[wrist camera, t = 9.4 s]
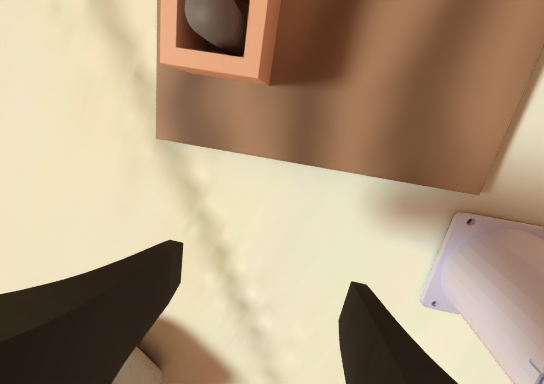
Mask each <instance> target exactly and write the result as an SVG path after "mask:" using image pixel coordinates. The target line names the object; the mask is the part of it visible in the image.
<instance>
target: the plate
mask: <svg viewBox="0 0 544 384" xmlns="http://www.w3.org/2000/svg"><path fill="white" fill-rule="evenodd" d="M249 5H250V4H243V3H236V2H234V0H185V15H186V18H187V21H188V23H189V25H190V26H191V28H192V29H193V30H194V31H195V32H196V33H198V34H199V35H200V36H202V37H203V38H205V39H206V40H207V52H210V53H217V54H223V55H230V56H236V57H243V58H244V51H245V42H246V32H247V23H248V14H249ZM160 15H161V0H157V90H156V139H162V140H167V141H173V142H179V143H184V144H190V145H196V146H201V147H207V148H213V149H218V150H224V151H230V152H235V153H241V154H247V155H253V156H258V157H264V158H270V159H275V160H281V161H287V162H292V163H298V164H304V165H309V166H315V167H321V168H327V169H332V170H338V171H344V172H349V173H355V174H361V175H366V176H372V177H378V178H383V179H389V180H395V181H401V182H406V183H412V184H418V185H423V186H429V187H435V188H440V189H446V190H452V191H457V192H463V193H469V194H475V195H479V194H480V192H481V189H482V187H483V185H484V183H485V180H486V178H487V176H488V173H489V171H490V169H491V166H492V164H493V162H494V159H495V157H496V155H497V153H498V150H499V148H500V146H501V143H502V141H503V139H504V136H505V134H506V132H507V129H508V127H509V125H510V122H511V120H512V118H513V116H514V113H515V111H516V109H517V106H518V104H519V102H520V99H521V97H522V95H523V92H524V90H525V88H526V86H527V83H528V81H529V79H530V76H531V74H532V72H533V69H534V67H535V65H536V62H537V60H538V58H539V55H540V53H541V51H542V49H543V46H544V0H281V5H280V12H279V19H278V26H277V33H276V40H275V47H274V54H273V62H272V69H271V76H270V83H269V86H267V85H261V84H254V83H248V82H242V81H235V80H229V79H223V78H216V77H210V76H204V75H198V74H192V73H189V72H186V71H183V70H180V69H177V68H174V67H171V66H168V65H165V64H162V63H160Z"/></svg>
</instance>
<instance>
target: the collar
mask: <svg viewBox="0 0 544 384" xmlns="http://www.w3.org/2000/svg"><path fill="white" fill-rule="evenodd" d="M234 2H236V3H243V4H250V5H249V14H248V23H247V32H246V42H245V51H244V58H243V57H236V56H230V55H223V54H217V53H210V52H207V40H206V39H205V38H203V37H202V36H200V35H199V34H198V33H196V32H195V31H194V30H193V29H192V28H191V26H190V25H189V23H188V21H187V18H186V15H185V0H161V15H160V63H162V64H165V65H168V66H171V67H174V68H177V69H180V70H183V71H186V72H189V73H192V74H198V75H204V76H210V77H216V78H223V79H229V80H235V81H242V82H248V83H254V84H261V85H267V86H269V83H270V76H271V69H272V62H273V54H274V47H275V40H276V33H277V26H278V19H279V12H280V5H281V0H234Z"/></svg>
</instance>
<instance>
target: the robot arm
mask: <svg viewBox="0 0 544 384" xmlns="http://www.w3.org/2000/svg"><path fill="white" fill-rule="evenodd" d="M469 219H472V221H471V222H470V223H467V221H468V220H469ZM182 255H183V243H182V242H177V241H173V240H168V241H165V242H163V243H160V244H158V245H155V246H153V247H151V248H148V249H146V250H144V251H141V252H139V253H136V254H134V255H132V256H129V257H127V258H125V259H122V260H119V261H117V262H114V263H111V264H109V265H106V266H103V267H101V268H98V269H95V270H92V271H90V272H86V273H83V274H80V275H77V276H74V277H70V278H67V279H64V280H60V281H56V282H52V283H48V284H44V285H40V286H36V287H32V288H28V289H24V290H19V291H14V292H9V293H4V294H0V384H112V382H113V381H114V379H115V378H116V376H117V374H118V373H119V371H120V370H121V368H122V366H123V365H124V363H125V362H126V360H127V359H128V358H129V356H130V355H131V353H132V352H133V350H134V349H135V348H136V346H137V345H138V344H139V343H140V341H141V340H142V339H143V337H144V336H145V335H146V333H147V332H148V331H149V329H150V328H151V327H152V325H153V324H154V323H155V321H156V320H157V319H158V317H159V316H160V315H161V313H162V312H163V310H164V309H165V308H166V306H167V305H168V304H169V302H170V300H171V299H172V297H173V295H174V293H175V292H176V290H177V288H178V286H179V284H180V283H181V269H182ZM434 301H436V302H435V303H432V302H434ZM420 302H421V304H422V305H423V306H424V307H427V308H432V309H437V310H441V311H446V312H451V313H456V314H461V316H462V317H463V318H464V320H465V321H466V322H467V324H468V325H469V326H470V328H471V329H472V330H473V332H474V333H475V334H476V336H477V337H478V338H479V340H480V341H481V342H482V343H483V345H484V346H485V347H486V349H487V350H488V351H489V353H490V354H491V355H492V357H493V358H494V359H495V361H496V362H497V363H498V365H499V366H500V367H501V369H502V370H503V371H504V372H505V374H506V375H507V376H508V378H509V379H510V380H511V382H512V383H513V384H544V227H543V226H537V225H532V224H526V223H521V222H515V221H509V220H504V219H498V218H493V217H487V216H482V215H476V214H471V213H465V212H459V213H457V214H455V215H454V217H453V219H452V221H451V224H450V226H449V229H448V231H447V234H446V236H445V238H444V241H443V243H442V246H441V248H440V251H439V253H438V256H437V258H436V260H435V263H434V265H433V268H432V270H431V273H430V275H429V277H428V280H427V282H426V285H425V287H424V290H423V292H422V294H421V297H420ZM339 341H340V350H341V357H342V363H343V369H344V375H345V380H346V384H458V383H457V382H456V381H455V380H453V379H452V378H451V377H450V376H449V375H448V374H447V373H446V372H445V371H444V370H443V369H442V368H441V367H440V366H439V365H438V364H437V363H436V362H434V361H433V360H432V359H431V358H430V357H429V356H428V355H427V354H426V353H425V352H424V350H423V349H422V348H421V347H420V346H419V345H418V344H417V343H416V342H415V341H414V340H413V339H412V338H411V337H410V336H409V334H408V333H407V332H406V331H405V330H404V329H403V328H402V326H401V325H400V324H399V323H398V322H397V321H396V320H395V318H394V317H393V316H392V315H391V314H390V312H389V311H388V310H387V309H386V308H385V306H384V305H383V304H382V303H381V301H380V300H379V299H378V298H377V297H376V295H375V294H374V293H373V292H372V290H371V289H370V288H369V287H368V286H367V285H366V284H361V283H357V282H353V281H351V284H350V287H349V290H348V293H347V296H346V299H345V302H344V305H343V308H342V311H341V314H340V318H339Z"/></svg>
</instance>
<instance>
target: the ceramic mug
mask: <svg viewBox="0 0 544 384" xmlns="http://www.w3.org/2000/svg"><path fill="white" fill-rule="evenodd" d="M162 381H163V373H162V371H161V370H160V369H159V368H158V367H157V366H156V365H155V364H154V363H153V362H152V361H151V360H150V359H149V358H148V357H147V356H146V355H145V354H144V353H143V352H142V351H141V350H140V349H139V348H138V347H136V348H135V349H134V350H133V352H132V353H131V355H130V356H129V358H128V359H127V360H126V362H125V363H124V365H123V366H122V368H121V370H120V371H119V373H118V374H117V376H116V378H115V379H114V381H113V382H112V384H162Z"/></svg>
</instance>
